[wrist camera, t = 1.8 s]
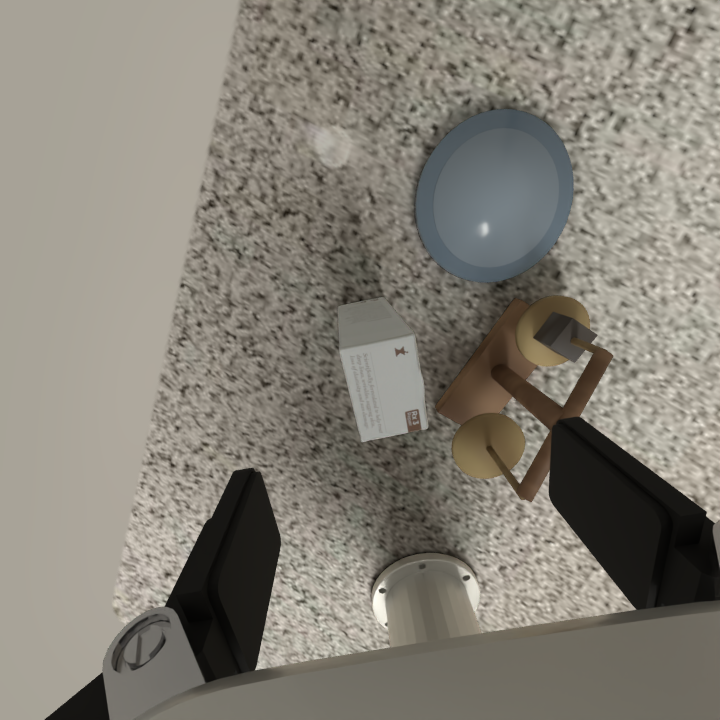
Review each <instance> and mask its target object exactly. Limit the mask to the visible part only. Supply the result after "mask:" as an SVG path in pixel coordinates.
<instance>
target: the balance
mask: <svg viewBox="0 0 720 720" xmlns="http://www.w3.org/2000/svg"><path fill="white" fill-rule="evenodd" d="M596 337H597V334H595V333H594V332H592V331H591V330H590V319H589V315H588V313H587V311H586V309H585V307H584V306H583V305H582V304H581V303H580V302H578V301H577V300H575V299H572V298H569V297H565V296H558V295H555V296H548V297H545V298H542V299H540V300H538V301H536V302H534V303H533V304H532V305H528V304H527V303H525V302H524V301H522V300H520V299H517V298H514V300H513V301H512V302H511V304H510V305H509V306H508V308H507V309H506V311H505V312H504V313H503V315H502V316H501V317H500V319H499V320H498V321H497V323H496V324H495V326H494V327H493V328H492V330H491V331H490V332H489V334H488V335H487V336H486V338H485V339H484V340H483V342H482V343H481V345H480V346H479V347H478V349H477V350H476V351H475V353H474V354H473V355H472V357H471V358H470V360H469V361H468V362H467V364H466V365H465V366H464V368H463V369H462V370H461V372H460V373H459V375H458V376H457V377H456V379H455V380H454V381H453V383H452V384H451V385H450V387H449V388H448V390H447V391H446V392H445V394H444V395H443V396H442V398H441V399H440V400H439V402H438V403H437V405H436V406H435V408H436V409H437V411H438V413H440V414H442V415H444V416H446V417H447V418H449V419H451V420H453V421H455V422H456V423H458V424H460V425H461V427H460V428H459V429H458V430H457V432H456V433H455V435H454V438H453V441H452V455H453V458H454V460H455V462H456V464H457V465H458V467H459V468H460V469H461V470H462V471H463V472H464V473H466V474H467V475H469V476H472V477H475V478H481V479H487V478H494V477H497V476H500V475H502V474H503V475H504V476H505V477H506V479H507V480H508V482H509V483H510V485H511V486H512V487H513V489H514V490H515V492H516V493H517V495H518V496H519V498H520V499H521V500H525V499H526V500H528V501H530V502H532V501H533V499H534V497H535V495H536V493H537V492H538V490H539V488H540V486H541V484H542V483H543V481H544V479H545V477H546V476H547V474H548V472H549V470H550V455H551V434H552V427H553V425H556V422H557V421H558V420H559V419H564V418H571V417H580V415H581V413H582V411H583V410H584V408H585V406H586V404H587V402H588V401H589V399H590V397H591V395H592V393H593V392H594V390H595V388H596V386H597V385H598V383H599V381H600V379H601V377H602V376H603V374H604V372H605V370H606V368H607V367H608V365H609V363H610V361H611V360H612V358H613V355H612V354H611V353H609V352H608V351H607V350H605V349H603V348H600V347H598V346H595V345H593V344H591V343H592V341H593V340H594V339H595V338H596ZM585 350H587V351H589V352H592V353H594V354H593V355H592V357H591V359H590V361H589V362H588V364H587V366H586V368H585V370H584V371H583V373H582V375H581V377H580V379H579V380H578V382H577V384H576V386H575V387H574V389H573V391H572V393H571V395H570V396H569V398H568V400H567V402H566V403H565V405H564V407H563V408H562V407H561V406H560V405H558V404H557V403H555V402H554V401H553V400H551V399H550V398H549V397H547V396H546V395H545V394H543V393H542V392H541V391H539V390H538V389H537V388H535V387H534V386H533V385H531V384H530V383H529V382H527V381H526V379H527V378H528V376H529V375H530V374H531V373H532V371H533V370H534V369H535V368H536V366H537V365H540V366H556V365H559V364H562V363H564V362H566V361H568V360H571V361H573V362H574V363H575V362H576V361H577V359H578V358H579V357H580V356H581V355H582V353H583V352H584V351H585ZM512 396H513V397H514V398H515V399H516V400H517V401H518V402H519V403H521V404H522V405H523V406H524V407H525V408H526V409H527V410H528V411H529V412H531V413H532V414H533V415H534V416H535V417H536V418H537V419H538V420H539V421H541V422H542V423H543V424H544V425H545V426H546V427H547V428H548V429H549V430H550V432H549V434H548V436H547V437H546V439H545V441H544V443H543V445H542V446H541V448H540V450H539V452H538V453H537V455H536V457H535V459H534V461H533V462H532V464H531V466H530V468H529V470H528V471H527V473H526V475H525V477H524V478H523V480H522V482H521V484H519V483H518V481H517V480H516V479H515V477H514V476H513V475H512V473H511V472H510V470H511V469H512V468H513V467H514V466H515V465H516V464H517V463H518V461H519V460H520V458H521V457H522V454H523V452H524V448H525V438H524V434H523V432H522V430H521V428H520V427H519V426H518V425H517V424H516V423H515V422H514V421H513V420H512V419H511V418H509V417H507V416H505V415H503V414H499V413H500V411H501V410H502V409H503V408H504V406H505V405H506V404H507V403H508V401H509V400H510V399H511V398H512Z"/></svg>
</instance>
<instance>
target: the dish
mask: <svg viewBox="0 0 720 720" xmlns="http://www.w3.org/2000/svg"><path fill="white" fill-rule="evenodd" d="M573 190H574V188H573V172H572V166H571V162H570V158H569V155H568V153H567V150H566V148H565V146H564V144H563V143H562V141H561V139H560V138H559V136H558V135H557V134H556V133H555V131H554V130H553V129H552V128H551V127H550V126H549V125H547V124H546V123H545V122H544V121H542V120H541V119H539V118H538V117H536V116H534V115H531V114H529V113H527V112H523V111H519V110H513V109H497V110H491V111H487V112H482V113H480V114H478V115H475V116H473V117H471V118H469V119H467V120H465V121H464V122H462V123H460V124H459V125H458V126H457V127H455V128H454V129H453V130H451V131H450V132H449V133H448V134H447V135H446V136H445V137H444V138H443V139H442V140H441V142H440V143H439V144H438V145H437V146H436V148H435V149H434V150H433V152H432V153H431V155H430V156H429V158H428V160H427V161H426V163H425V165H424V168H423V170H422V172H421V175H420V178H419V181H418V185H417V189H416V194H415V220H416V226H417V230H418V233H419V237H420V239H421V241H422V244H423V246H424V247H425V249H426V251H427V252H428V254H429V255H430V256H431V258H432V259H433V260H434V261H435V262H436V263H437V264H438V265H439V266H440V267H441V268H443V269H444V270H446V271H447V272H448V273H450V274H452V275H454V276H456V277H459V278H462V279H466V280H469V281H475V282H487V283H488V282H498V281H502V280H506V279H509V278H512V277H515V276H517V275H519V274H521V273H523V272H525V271H526V270H528V269H529V268H531V267H532V266H534V265H535V264H536V263H537V262H539V261H540V260H541V259H542V258H543V257H544V256H545V255H546V254H547V253H548V252H549V250H550V249H551V248H552V247H553V245H554V244H555V243H556V241H557V239H558V238H559V236H560V234H561V233H562V231H563V228H564V226H565V224H566V222H567V219H568V216H569V213H570V209H571V204H572V199H573Z"/></svg>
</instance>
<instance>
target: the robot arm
mask: <svg viewBox="0 0 720 720" xmlns="http://www.w3.org/2000/svg"><path fill="white" fill-rule="evenodd" d="M549 497H550V500H551V502H552V504H553V505H554V507H555V508H556V509H557V510H558V512H559V513H560V514H561V515H562V517H563V518H564V519H565V520H566V522H567V523H568V524H569V525H570V527H571V528H572V529H573V531H574V532H575V533H576V534H577V536H578V537H579V538H580V539H581V541H582V542H583V543H584V544H585V546H586V547H587V548H588V549H589V551H590V552H591V553H592V555H593V556H594V557H595V558H596V560H597V561H598V562H599V563H600V565H601V566H602V567H603V568H604V570H605V571H606V572H607V573H608V575H609V576H610V577H611V579H612V580H613V581H614V582H615V584H616V585H617V586H618V587H619V589H620V590H621V591H622V592H623V594H624V595H625V596H626V597H627V599H628V600H629V601H630V602H631V604H632V605H633V606H634V607H635V608H636V609H637V610H633V611H627V612H620V613H613V614H606V615H599V616H593V617H586V618H579V619H572V620H566V621H559V622H552V623H545V624H539V625H532V626H526V627H519V628H513V629H506V630H499V631H493V632H486V633H481V630H480V627H479V624H478V621H477V619H476V616H475V613H474V612H475V610H476V609H477V607H478V604H479V601H480V593H481V592H480V587H479V583H478V581H477V578H476V576H475V574H474V573H473V571H472V570H471V568H470V567H469V566H468V565H466V564H465V563H464V562H462V561H461V560H459V559H457V558H455V557H452V556H449V555H445V554H439V553H422V554H416V555H412V556H408V557H405V558H403V559H401V560H398V561H397V562H395V563H393V564H392V565H390V566H389V567H388V568H386V569H385V570H384V571H383V572H382V573H381V574H380V576H379V577H378V578H377V580H376V582H375V584H374V586H373V589H372V594H371V598H372V609H373V613H374V615H375V617H376V619H377V620H378V622H379V623H380V624H381V625H382V626H383V627H385V628H386V629H387V630H388V632H389V641H390V648H384V649H378V650H372V651H366V652H360V653H353V654H347V655H341V656H335V657H328V658H322V659H316V660H310V661H305V662H299V663H294V664H288V665H283V666H277V667H272V668H266V669H261V670H255V669H256V665H257V661H258V656H259V651H260V646H261V641H262V636H263V631H264V626H265V621H266V616H267V611H268V606H269V601H270V596H271V592H272V587H273V582H274V577H275V572H276V567H277V562H278V557H279V552H280V547H281V538H280V533H279V530H278V527H277V523H276V520H275V517H274V514H273V510H272V507H271V504H270V500H269V497H268V494H267V491H266V487H265V484H264V481H263V478H262V475H261V473H260V472H255V470H254V468H248V469H242V470H236V471H234V472H233V474H232V476H231V478H230V480H229V482H228V484H227V486H226V488H225V491H224V493H223V495H222V497H221V499H220V501H219V503H218V505H217V508H216V510H215V512H214V514H213V516H212V518H210V519H209V520H207V522H206V523H205V525H204V527H203V529H202V531H201V533H200V535H199V537H198V539H197V541H196V543H195V545H194V547H193V549H192V551H191V553H190V556H189V558H188V560H187V562H186V564H185V566H184V568H183V570H182V572H181V574H180V576H179V578H178V580H177V582H176V584H175V586H174V588H173V591H172V593H171V595H170V597H169V599H168V601H167V603H166V605H165V607H157V608H154V609H151V610H149V611H146V612H144V613H143V614H141V615H139V616H138V617H136V618H135V619H134V620H132V621H131V622H130V623H129V624H127V625H126V626H125V627H124V628H123V629H122V630H121V632H120V633H119V634H118V635H117V636H116V637H115V639H114V640H113V642H112V643H111V645H110V646H109V648H108V650H107V652H106V655H105V658H104V660H103V672H102V673H101V674H100V675H98V676H97V677H96V678H95V679H94V680H92V681H91V682H90V683H89V684H88V685H87V686H85V687H84V688H83V689H81V690H80V691H79V692H78V693H77V694H75V695H74V696H73V697H72V698H70V699H69V700H68V701H67V702H66V703H64V704H63V705H62V706H61V707H60V708H58V709H57V710H56V711H55V712H53V713H52V714H51V715H50V716H48V717H47V718H46V719H45V720H720V520H719V521H718V522H716V523H714V522H713V521H711V520H710V519H709V518H707V517H706V513H707V512H706V511H705V510H703V509H702V508H701V507H699V506H698V505H697V504H695V503H694V502H693V501H691V500H690V499H689V498H687V497H686V496H685V495H683V494H682V493H681V492H679V491H678V490H677V489H675V488H674V487H673V486H671V485H670V484H669V483H667V482H666V481H665V480H663V479H662V478H661V477H659V476H658V475H657V474H655V473H654V472H653V471H651V470H650V469H649V468H647V467H646V466H645V465H643V464H642V463H641V462H639V461H638V460H637V459H635V458H634V457H633V456H631V455H630V454H629V453H627V452H626V451H625V450H623V449H622V448H621V447H619V446H618V445H617V444H615V443H614V442H613V441H611V440H610V439H609V438H607V437H606V436H605V435H603V434H602V433H601V432H599V431H598V430H597V429H595V428H594V427H593V426H591V425H590V424H589V423H587V422H586V421H585V420H583V419H582V418H580V417H571V418H564V419H559V420H558V421H557V422H556V425H553V427H552V434H551V455H550V477H549Z"/></svg>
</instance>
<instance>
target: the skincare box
mask: <svg viewBox="0 0 720 720" xmlns="http://www.w3.org/2000/svg"><path fill="white" fill-rule="evenodd" d="M338 334H339V354H340V358H341V362H342V366H343V370H344V374H345V378H346V382H347V386H348V390H349V394H350V399H351V403H352V407H353V411H354V415H355V419H356V423H357V427H358V431H359V434H360V438H361V442H366V441H370V440H375V439H381V438H385V437H390V436H395V435H400V434H404V433H409V432H414V431H419V430H424V429H427V428H428V419H427V412H426V405H425V398H424V381H423V376H422V373H421V369H420V363H419V356H418V349H417V344H416V337H415V334H414V332H413V331H412V330H411V328H410V327H409V326H408V325H407V324H406V322H405V321H404V320H403V319H402V318H401V317H400V316H399V314H398V313H397V312H396V311H395V310H394V308H393V307H392V306H391V305H390V303H389V302H388V301H387V300H386V299H385V298H384V297H380V298H375V299H369V300H364V301H360V302H355V303H350V304H345V305H341V306H339V307H338Z"/></svg>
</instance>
